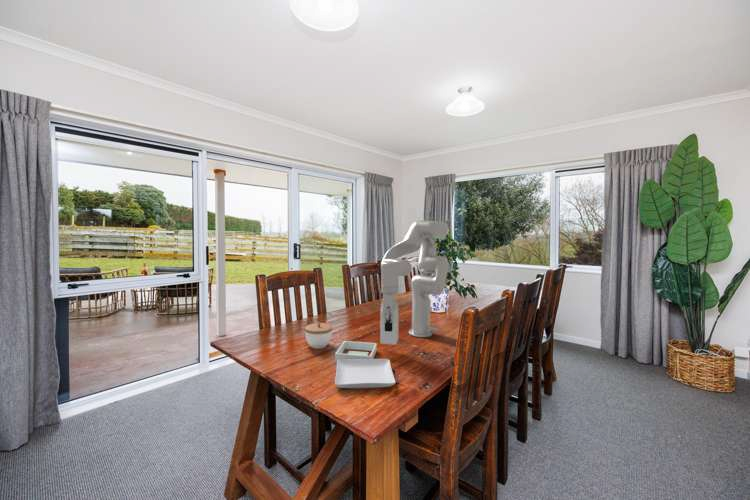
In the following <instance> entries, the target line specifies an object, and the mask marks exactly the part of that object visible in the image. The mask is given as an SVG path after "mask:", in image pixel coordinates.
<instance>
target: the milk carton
mask: <svg viewBox="0 0 750 500" xmlns="http://www.w3.org/2000/svg"><path fill="white" fill-rule="evenodd" d="M382 308H383V299H381V304H380V312H379V313H380V314H379V315H380V316H379V319H380V321H379V322H380V323H379V324H380V325H379V327H380V330H379V331H380V332H379V333H380V334H379V335H380V339H379V341H380V344H381V345H392V346H393V345H397V343H398V341H399V302H398V300H397V299H395V307H394V313H393V316H392V331H385V315H386V314H385V315H384V316H383V315H382ZM389 315H391V312H390V314H389ZM389 318H390V317H389Z"/></svg>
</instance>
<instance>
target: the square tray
mask: <svg viewBox="0 0 750 500" xmlns="http://www.w3.org/2000/svg"><path fill="white" fill-rule="evenodd" d="M377 344H378V343H376V342H365V341H364V342H362V341H354V340H353V341H352V340H351V341H350V340H344V341H343V342H342V343H341V345H340V346H339V347H338V348H337V351H335V353H334V362H335V363H337V361H338V360H342V359H375V355H376V353H377V350H378V349H377V348H378V345H377ZM345 350H353V351H365V352H368V351H369V352H371V353H370V355H367V356H366V355H354V354H347V353H344V352H345Z"/></svg>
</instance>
